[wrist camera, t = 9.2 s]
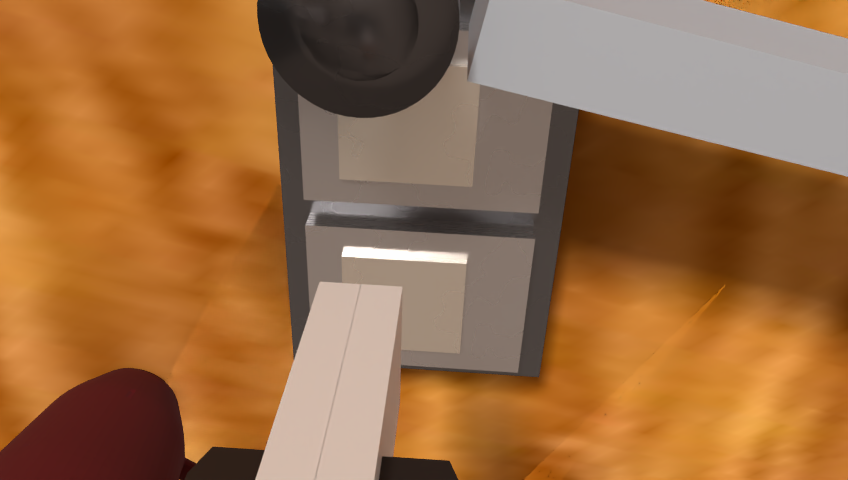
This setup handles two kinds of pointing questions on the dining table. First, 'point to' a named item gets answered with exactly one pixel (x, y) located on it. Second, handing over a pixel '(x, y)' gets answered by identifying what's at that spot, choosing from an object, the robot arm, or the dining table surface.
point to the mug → (103, 433)
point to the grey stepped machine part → (417, 178)
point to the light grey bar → (674, 70)
